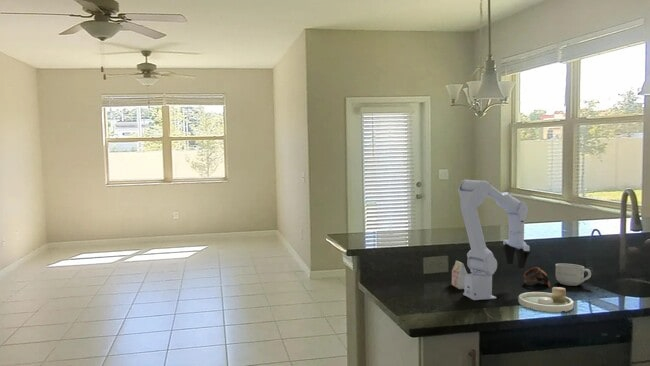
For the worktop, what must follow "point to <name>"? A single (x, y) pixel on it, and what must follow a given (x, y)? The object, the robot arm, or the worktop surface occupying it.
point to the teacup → (571, 274)
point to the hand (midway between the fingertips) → (515, 266)
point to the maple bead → (558, 294)
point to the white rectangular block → (458, 275)
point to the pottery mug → (536, 276)
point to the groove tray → (544, 302)
